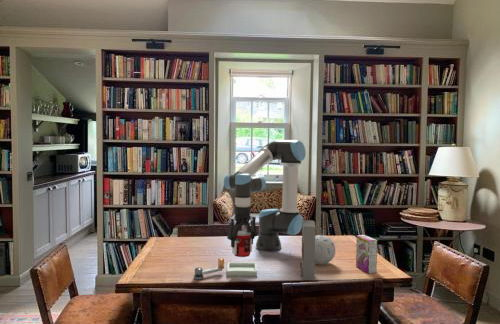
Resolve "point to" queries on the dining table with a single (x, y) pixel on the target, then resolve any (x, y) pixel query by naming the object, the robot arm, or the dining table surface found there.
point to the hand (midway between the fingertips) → (242, 252)
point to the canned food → (243, 244)
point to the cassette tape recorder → (308, 250)
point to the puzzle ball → (323, 250)
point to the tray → (241, 269)
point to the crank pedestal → (198, 277)
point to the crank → (201, 272)
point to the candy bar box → (366, 253)
